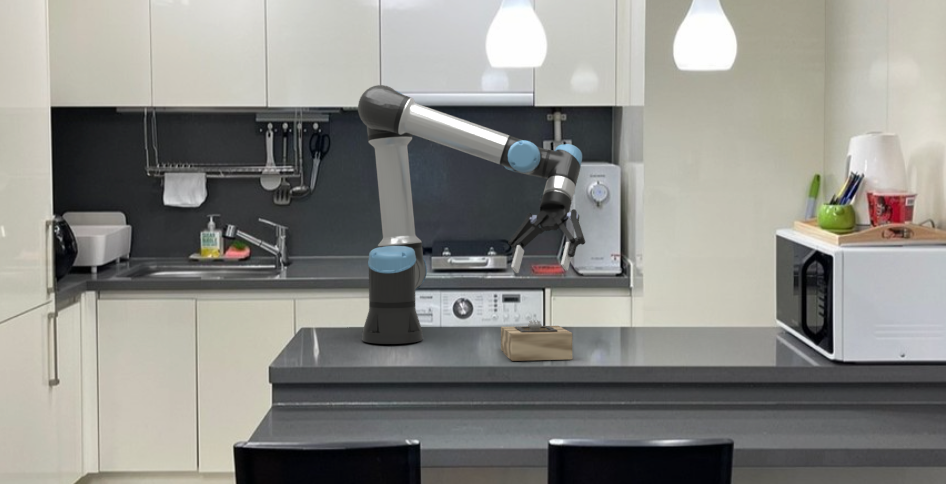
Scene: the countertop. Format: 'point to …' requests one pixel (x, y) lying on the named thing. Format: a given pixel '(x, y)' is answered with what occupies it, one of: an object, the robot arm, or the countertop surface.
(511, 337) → the socket block
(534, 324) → the rook chess piece
